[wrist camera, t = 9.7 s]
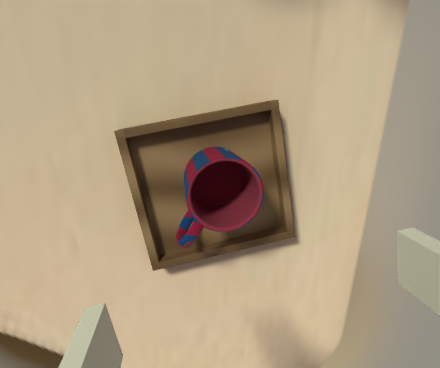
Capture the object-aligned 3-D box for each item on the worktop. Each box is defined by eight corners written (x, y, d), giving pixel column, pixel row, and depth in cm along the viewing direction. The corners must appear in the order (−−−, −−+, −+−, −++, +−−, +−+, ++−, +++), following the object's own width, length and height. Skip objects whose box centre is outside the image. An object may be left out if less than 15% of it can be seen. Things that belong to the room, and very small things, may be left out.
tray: (119, 129, 29) (114, 131, 27) (270, 100, 31) (278, 99, 28) (154, 259, 33) (153, 270, 31) (286, 228, 35) (294, 236, 32)
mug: (257, 175, 32) (279, 192, 25) (195, 239, 32) (200, 272, 26) (214, 132, 30) (225, 139, 23) (149, 201, 31) (141, 226, 24)
